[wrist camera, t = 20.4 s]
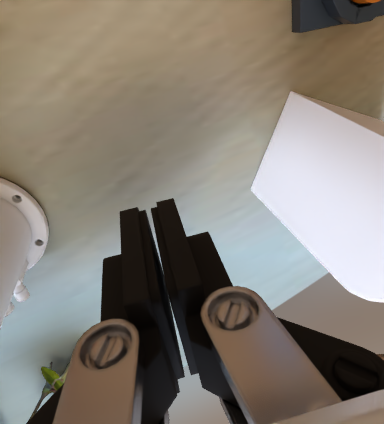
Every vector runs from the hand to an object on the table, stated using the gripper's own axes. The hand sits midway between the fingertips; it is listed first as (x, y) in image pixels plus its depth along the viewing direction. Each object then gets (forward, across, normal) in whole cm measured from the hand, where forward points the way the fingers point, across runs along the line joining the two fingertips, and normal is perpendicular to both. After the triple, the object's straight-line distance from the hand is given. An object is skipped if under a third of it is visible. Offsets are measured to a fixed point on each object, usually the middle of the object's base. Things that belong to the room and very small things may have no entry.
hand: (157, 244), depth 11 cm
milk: (+25, -19, +11) cm, 33 cm away
